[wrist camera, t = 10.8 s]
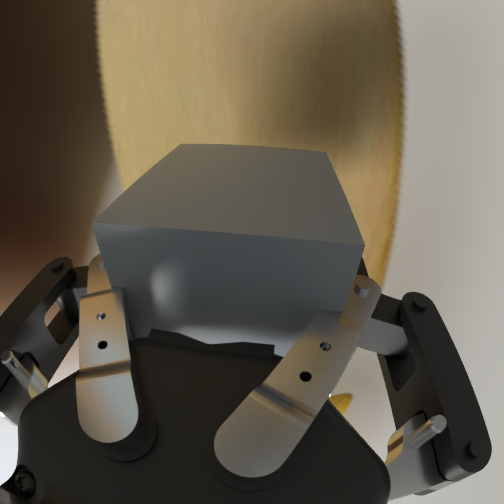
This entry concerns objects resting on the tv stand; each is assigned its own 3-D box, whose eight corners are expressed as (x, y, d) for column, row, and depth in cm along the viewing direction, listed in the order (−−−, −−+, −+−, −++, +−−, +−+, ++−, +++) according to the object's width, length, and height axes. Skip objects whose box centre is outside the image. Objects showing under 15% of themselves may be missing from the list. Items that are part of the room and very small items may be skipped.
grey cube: (180, 143, 13) (91, 222, 7) (325, 152, 12) (364, 245, 6) (190, 258, 16) (144, 368, 10) (307, 269, 16) (312, 390, 10)
